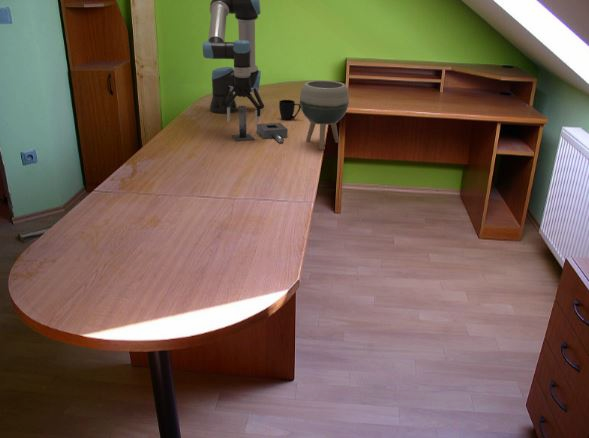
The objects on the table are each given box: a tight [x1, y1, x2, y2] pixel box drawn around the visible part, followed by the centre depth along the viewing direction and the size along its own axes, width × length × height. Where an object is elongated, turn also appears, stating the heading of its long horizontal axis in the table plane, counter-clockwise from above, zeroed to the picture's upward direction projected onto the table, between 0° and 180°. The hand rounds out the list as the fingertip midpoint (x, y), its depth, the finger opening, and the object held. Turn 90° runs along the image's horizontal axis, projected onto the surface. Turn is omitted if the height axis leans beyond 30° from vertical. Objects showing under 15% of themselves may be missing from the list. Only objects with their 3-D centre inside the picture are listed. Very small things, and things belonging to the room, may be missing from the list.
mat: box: [231, 133, 256, 142], centre depth 258 cm, size 9×9×1 cm
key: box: [238, 105, 248, 138], centre depth 255 cm, size 3×6×14 cm, turn 169°
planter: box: [299, 79, 350, 151], centre depth 247 cm, size 22×22×28 cm
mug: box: [278, 99, 301, 121], centre depth 290 cm, size 8×12×10 cm
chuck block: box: [256, 122, 288, 144], centre depth 260 cm, size 21×12×4 cm, turn 20°
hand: (242, 122), depth 255 cm, fingers open, 13 cm apart
